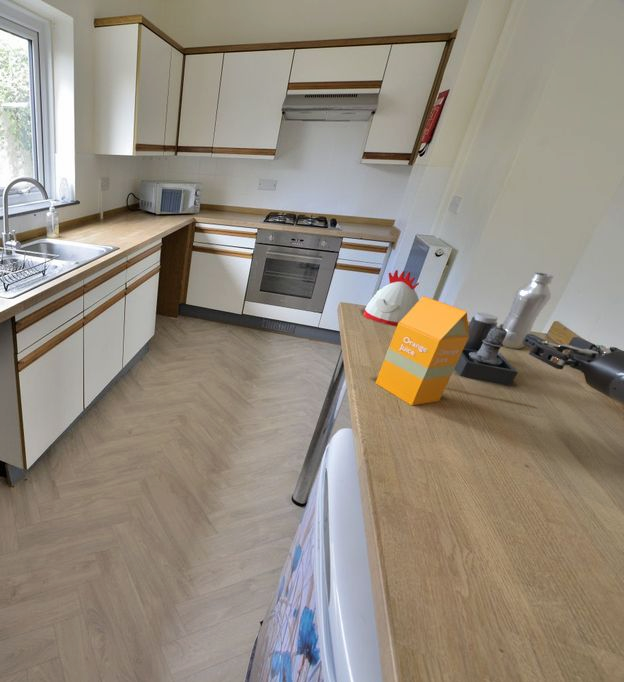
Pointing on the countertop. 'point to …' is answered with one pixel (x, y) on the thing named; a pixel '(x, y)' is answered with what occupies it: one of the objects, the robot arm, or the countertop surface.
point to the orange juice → (424, 351)
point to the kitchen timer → (393, 300)
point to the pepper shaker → (479, 329)
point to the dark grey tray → (486, 369)
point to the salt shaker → (490, 348)
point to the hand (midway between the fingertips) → (549, 339)
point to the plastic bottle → (526, 309)
